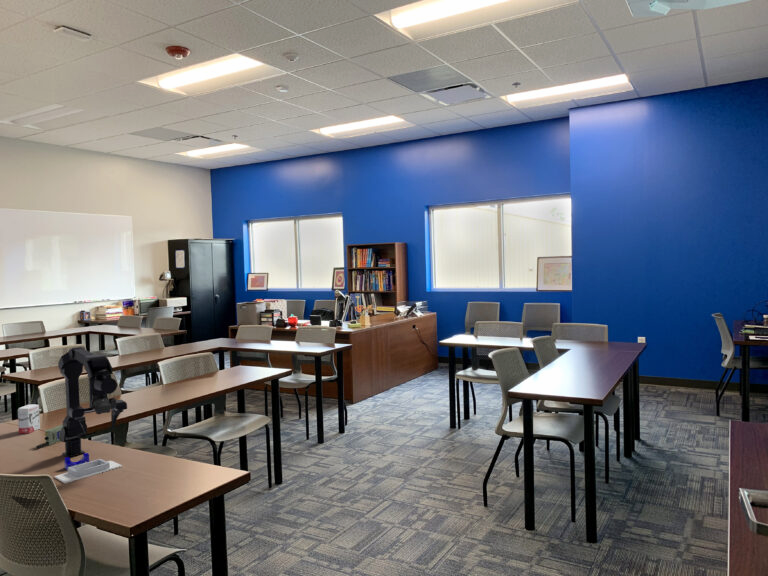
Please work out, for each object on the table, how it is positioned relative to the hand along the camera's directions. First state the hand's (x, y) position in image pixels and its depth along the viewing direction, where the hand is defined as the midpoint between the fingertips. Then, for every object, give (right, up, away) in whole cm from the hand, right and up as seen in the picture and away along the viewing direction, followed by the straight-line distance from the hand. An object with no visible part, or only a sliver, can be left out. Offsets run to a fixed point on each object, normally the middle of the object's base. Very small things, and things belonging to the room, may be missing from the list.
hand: (99, 431), depth 210 cm
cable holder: (-10, -15, +4) cm, 18 cm away
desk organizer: (-2, -14, -3) cm, 15 cm away
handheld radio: (-36, -14, +38) cm, 54 cm away
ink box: (-59, -14, +53) cm, 81 cm away
